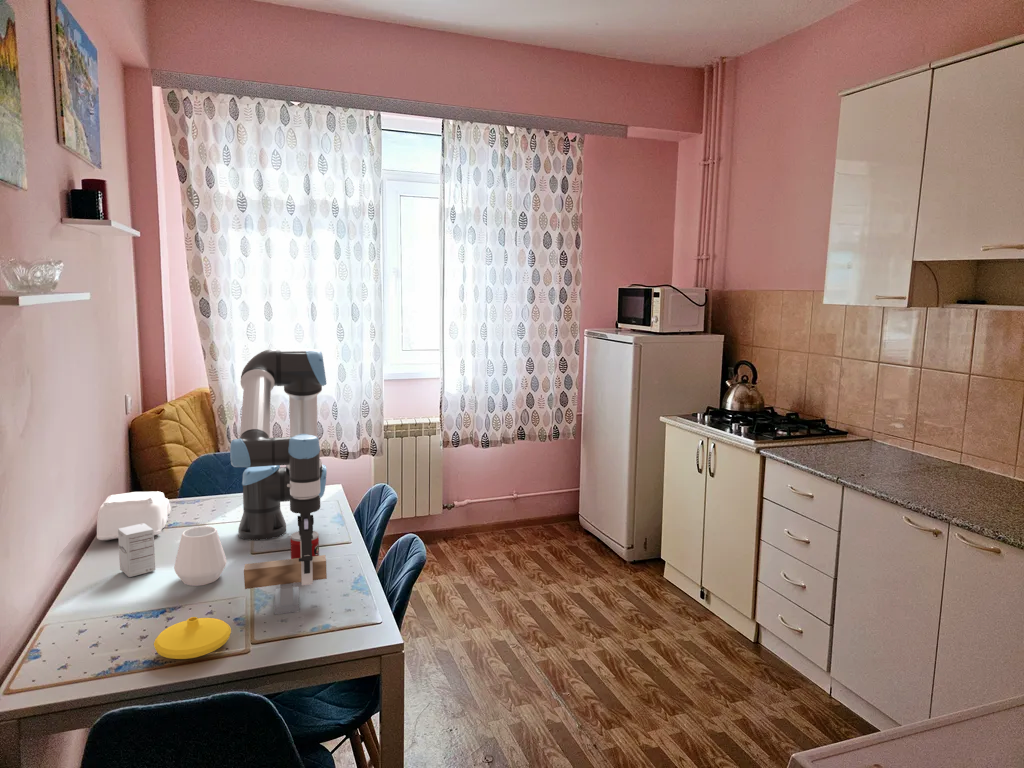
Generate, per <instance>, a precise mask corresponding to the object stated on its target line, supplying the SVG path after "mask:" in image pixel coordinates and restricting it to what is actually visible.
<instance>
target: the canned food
mask: <svg viewBox="0 0 1024 768" xmlns="http://www.w3.org/2000/svg"><path fill="white" fill-rule="evenodd" d="M312 535H313V539H312V556H320V539H319V537H320V536H319V535H320V534H319V533H318V531H315V530H313V534H312ZM300 541H301V539H300V535H299V530H298V531H296V532H293V533H291V534H290V559H295V558H301V550H300Z"/></svg>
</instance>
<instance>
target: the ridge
mask: <svg viewBox="0 0 1024 768" xmlns="http://www.w3.org/2000/svg"><path fill="white" fill-rule="evenodd" d="M279 586H280V588H275V589H274V606H273V607H274V608H273V609H274V610H273V611H274V614H273V615H279V614H282V615H283V614H289V613H296V612H300V587H299V586H297V585H296V586H294V583H290V584H282V585H279Z"/></svg>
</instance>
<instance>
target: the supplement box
mask: <svg viewBox="0 0 1024 768" xmlns="http://www.w3.org/2000/svg"><path fill="white" fill-rule="evenodd" d="M118 555H119V557H118V558H119V570H120V571H121V572H123V573H124V574H125V576H127V577H128V578H131V577H135V576H140V575H144V574H148V573H152V572H155V571H156V558H155V557H156V556H155V555H156V554H155V535H154V531H153V529H152V528H151V527H149V526H147V525H146V524H145V523H143V524H137V525H133V526H128V527H124V528H119V529H118Z"/></svg>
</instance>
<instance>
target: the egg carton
mask: <svg viewBox="0 0 1024 768" xmlns="http://www.w3.org/2000/svg"><path fill="white" fill-rule="evenodd" d="M171 508H172V507H171V503H170V500H169V499H168V497H167V498H166V497H165V493H164V492H161V491H158V490H157V491H131V492H123V493H117V494H111V495H108V496H107V497H106V499H105V500H104V501H103V503H102V504H101V505H100V507H99V508H98V512H97V521H96V539H97V540H100V541H110V540H117V539H118V529H119V528H124V527H128V526H133V525H137V524H143V523H145V524H146V525H147V526H149V527H151V528H152V529H153V531H154V536H158V535H161V534H162V531H163V528H165V527H166V524H167V522H168V520H169V515H170V514H171V510H172V509H171ZM118 540H119V539H118Z"/></svg>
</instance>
